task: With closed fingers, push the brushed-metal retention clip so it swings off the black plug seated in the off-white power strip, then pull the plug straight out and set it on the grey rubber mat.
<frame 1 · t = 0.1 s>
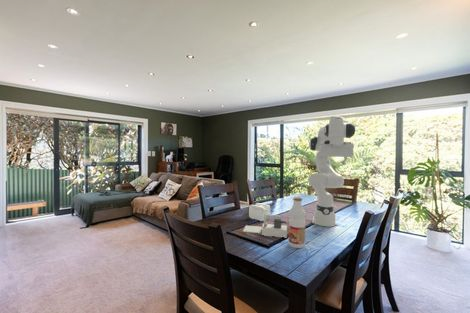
hand: (335, 163, 141), 48 cm above the table, tool pointing down, fingers open, 8 cm apart
power strip: (274, 234, 149), on the table
fruit juice: (296, 245, 132), on the table
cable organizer: (259, 219, 182), on the table
plug: (277, 231, 148), point 2 cm above the table, touching power strip
clip: (272, 220, 149), point 9 cm above the table, hinge at 0.0°
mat: (252, 230, 156), on the table
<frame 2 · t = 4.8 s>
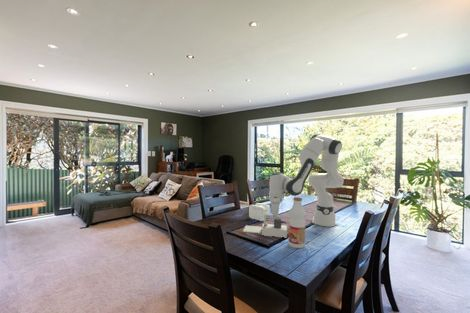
hand: (275, 218, 146), 11 cm above the table, tool pointing down, fingers closed
clip: (272, 220, 149), point 9 cm above the table, hinge at 0.2°, touching gripper
everything else where it was.
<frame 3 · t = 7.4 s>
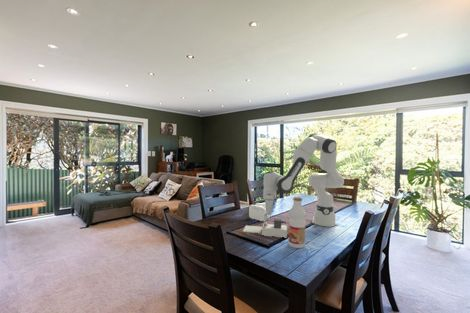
hand: (269, 214, 155), 11 cm above the table, tool pointing down, fingers closed, pressing on clip
clip: (266, 218, 154), point 9 cm above the table, hinge at 86.3°, touching gripper
everything else where it was.
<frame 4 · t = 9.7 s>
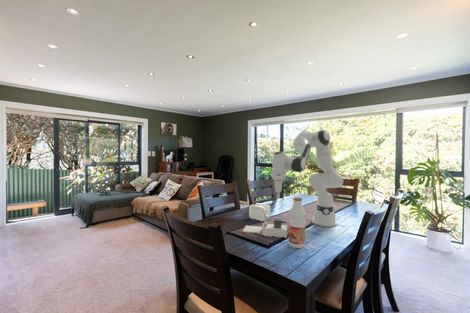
hand: (278, 196, 148), 25 cm above the table, tool pointing down, fingers open, 8 cm apart
clip: (265, 218, 154), point 9 cm above the table, hinge at 91.8°
everything else where it was.
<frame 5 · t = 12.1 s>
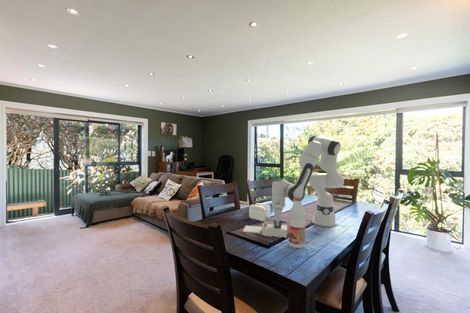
hand: (277, 223, 148), 7 cm above the table, tool pointing down, fingers closed on plug, 5 cm apart
plug: (277, 231, 148), point 2 cm above the table, touching gripper, power strip
everything else where it was.
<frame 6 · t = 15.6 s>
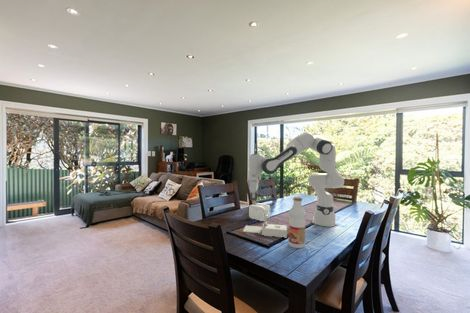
hand: (254, 196, 154), 24 cm above the table, tool pointing down, fingers closed on plug, 5 cm apart
plug: (253, 204, 154), point 19 cm above the table, touching gripper
everything else where it was.
when the fingers open (8 cm above the table, at t = 19.0 s): plug drops 2 cm, resting on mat.
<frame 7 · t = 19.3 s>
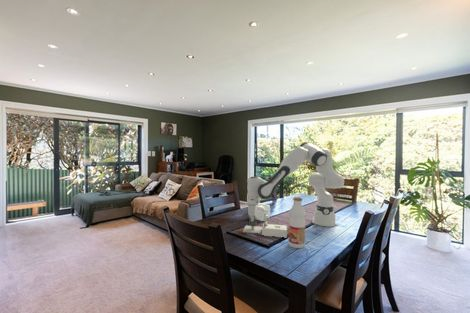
hand: (253, 219, 156), 8 cm above the table, tool pointing down, fingers open, 7 cm apart
plug: (252, 229, 156), resting on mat
everything else where it was.
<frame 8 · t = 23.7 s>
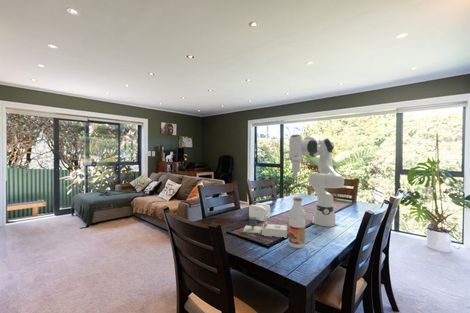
hand: (295, 177, 155), 37 cm above the table, tool pointing down, fingers open, 8 cm apart
nothing on the table moved.
at the end: clip at +92° (first picture: +0°); plug inside the target area on the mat (0.0 cm from its centre), point 0.5 cm above the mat's base; the gripper is holding nothing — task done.
